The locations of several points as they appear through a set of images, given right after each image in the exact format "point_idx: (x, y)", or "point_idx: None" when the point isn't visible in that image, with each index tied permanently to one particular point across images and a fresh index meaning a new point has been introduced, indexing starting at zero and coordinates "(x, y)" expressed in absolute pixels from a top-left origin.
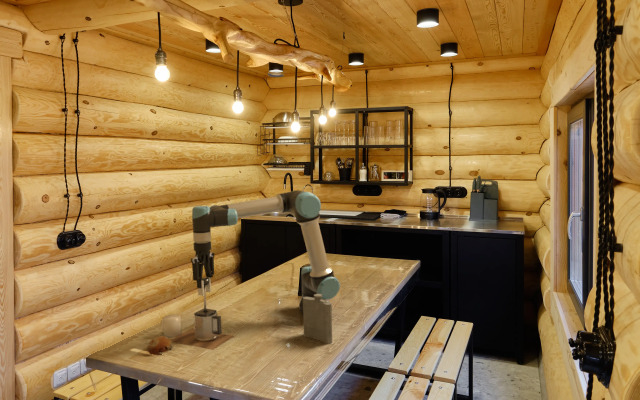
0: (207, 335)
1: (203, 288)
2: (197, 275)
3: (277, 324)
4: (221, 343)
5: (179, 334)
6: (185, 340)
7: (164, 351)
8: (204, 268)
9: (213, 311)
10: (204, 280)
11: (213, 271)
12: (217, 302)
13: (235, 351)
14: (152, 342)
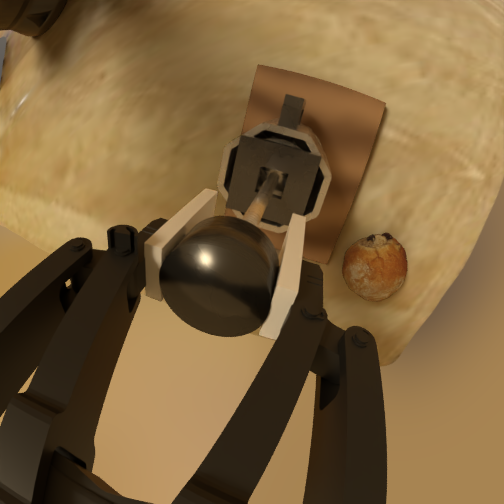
0: (319, 143)
1: (289, 239)
2: (377, 389)
3: (130, 7)
4: (332, 87)
5: (279, 250)
6: (321, 217)
7: (402, 247)
8: (111, 375)
9: (263, 141)
10: (263, 275)
11: (60, 256)
12: (59, 238)
13: (364, 35)
14: (392, 292)
